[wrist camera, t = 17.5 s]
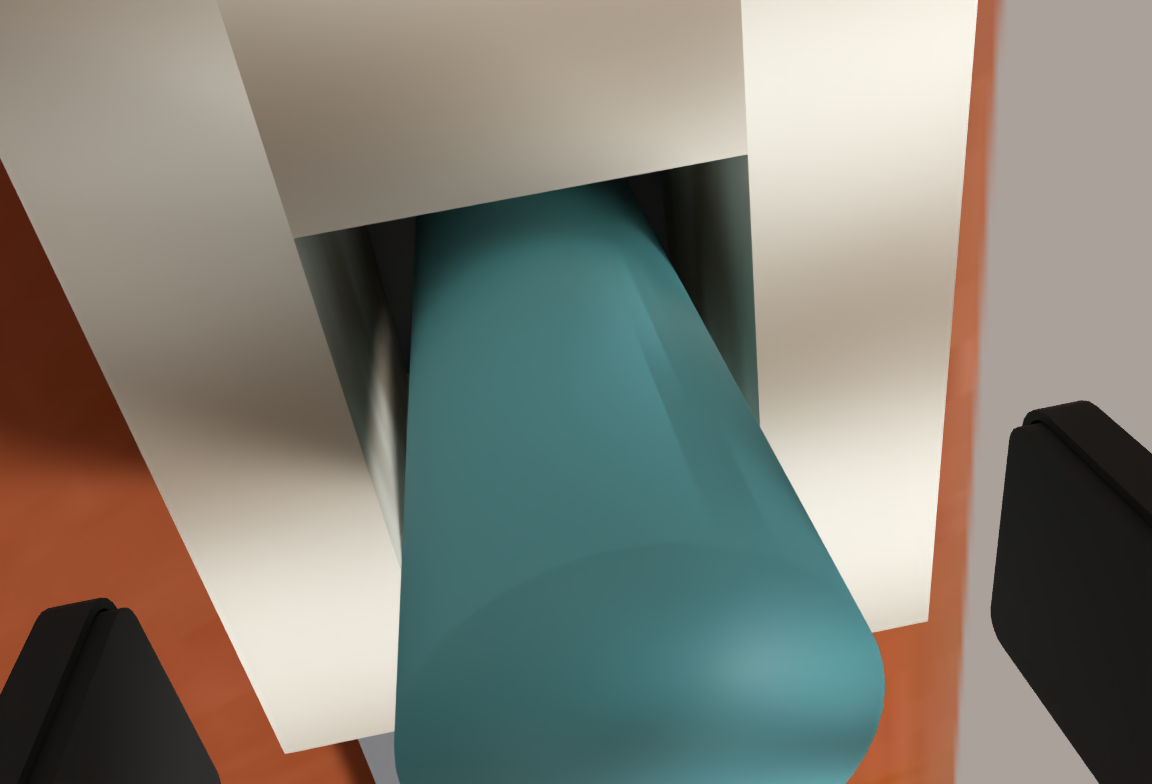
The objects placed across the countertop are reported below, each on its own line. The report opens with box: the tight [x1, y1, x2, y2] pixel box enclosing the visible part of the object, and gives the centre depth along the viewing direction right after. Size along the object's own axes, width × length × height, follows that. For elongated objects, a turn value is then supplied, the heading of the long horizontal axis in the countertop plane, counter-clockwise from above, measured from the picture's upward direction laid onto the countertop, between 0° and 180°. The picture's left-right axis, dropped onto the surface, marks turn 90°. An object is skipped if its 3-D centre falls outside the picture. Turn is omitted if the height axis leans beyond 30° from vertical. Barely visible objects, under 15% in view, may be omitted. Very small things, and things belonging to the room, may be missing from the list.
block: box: [0, 0, 978, 754], centre depth 16 cm, size 12×11×6 cm
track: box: [358, 171, 669, 784], centre depth 18 cm, size 29×13×9 cm, turn 8°
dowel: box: [394, 177, 885, 784], centre depth 13 cm, size 4×4×12 cm
